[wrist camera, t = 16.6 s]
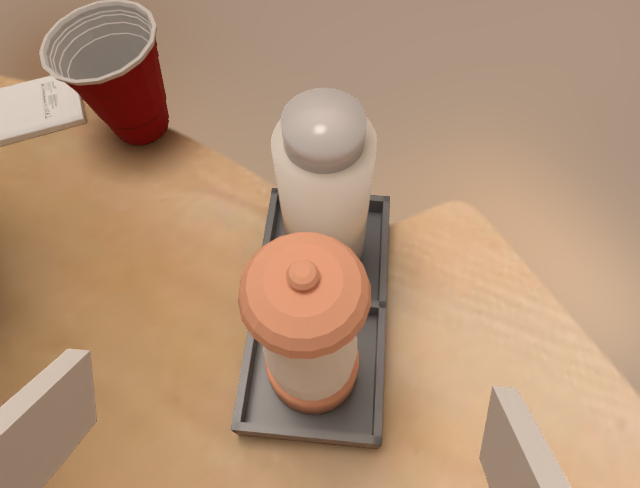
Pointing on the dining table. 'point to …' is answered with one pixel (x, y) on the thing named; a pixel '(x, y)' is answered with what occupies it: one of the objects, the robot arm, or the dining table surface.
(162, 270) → the dining table surface
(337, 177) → the salt shaker
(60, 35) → the plastic cup
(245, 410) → the shaker caddy
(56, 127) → the external hard drive
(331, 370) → the pepper shaker
